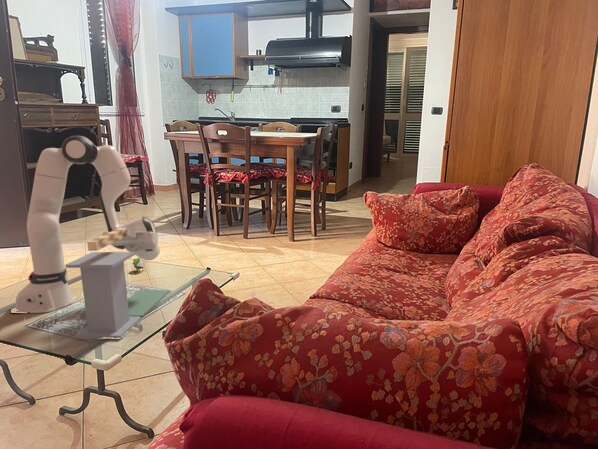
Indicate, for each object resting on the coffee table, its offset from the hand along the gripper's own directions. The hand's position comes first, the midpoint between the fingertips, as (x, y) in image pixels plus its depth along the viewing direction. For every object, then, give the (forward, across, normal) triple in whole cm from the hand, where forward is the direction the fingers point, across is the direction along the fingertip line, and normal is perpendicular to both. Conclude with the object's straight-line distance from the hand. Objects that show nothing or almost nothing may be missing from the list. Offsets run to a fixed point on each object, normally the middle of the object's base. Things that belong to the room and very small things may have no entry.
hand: (120, 232), depth 165 cm
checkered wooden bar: (+6, 0, +6) cm, 8 cm away
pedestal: (-4, 0, +35) cm, 35 cm away
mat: (-25, 0, +22) cm, 34 cm away
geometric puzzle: (-63, -21, +1) cm, 67 cm away
